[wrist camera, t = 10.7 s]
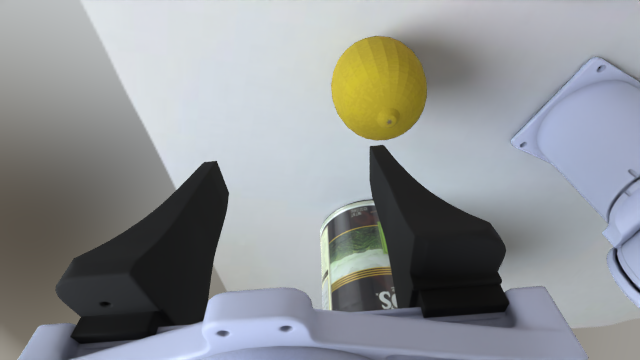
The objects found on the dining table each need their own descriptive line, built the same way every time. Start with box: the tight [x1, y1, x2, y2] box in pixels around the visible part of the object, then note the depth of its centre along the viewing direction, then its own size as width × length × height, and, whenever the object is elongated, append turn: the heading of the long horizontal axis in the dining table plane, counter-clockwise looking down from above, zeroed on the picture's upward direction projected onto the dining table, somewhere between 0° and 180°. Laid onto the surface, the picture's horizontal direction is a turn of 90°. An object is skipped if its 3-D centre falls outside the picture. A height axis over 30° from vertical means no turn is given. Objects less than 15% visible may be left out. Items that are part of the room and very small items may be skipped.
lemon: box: [331, 36, 427, 140], centre depth 20 cm, size 6×6×8 cm
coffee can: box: [320, 200, 398, 312], centre depth 29 cm, size 10×10×14 cm
